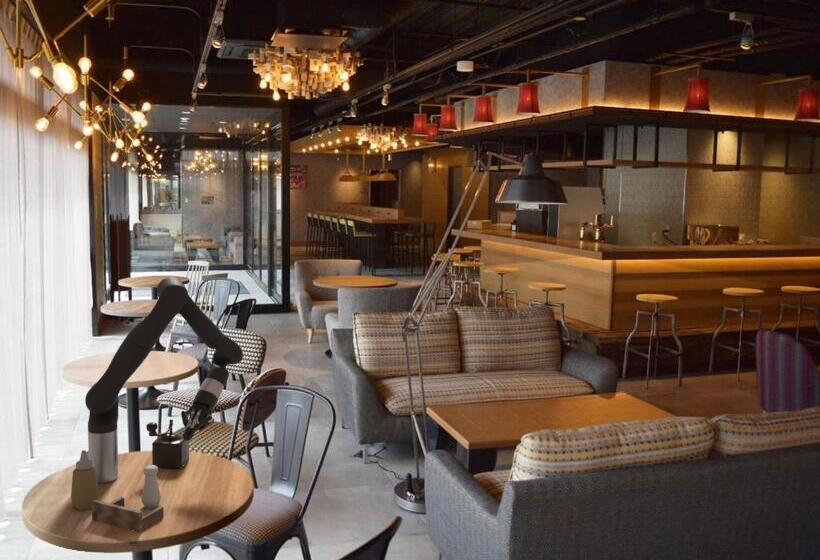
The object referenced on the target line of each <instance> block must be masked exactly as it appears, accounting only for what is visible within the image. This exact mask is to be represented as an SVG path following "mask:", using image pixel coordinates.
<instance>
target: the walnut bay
mask: <svg viewBox="0 0 820 560" xmlns="http://www.w3.org/2000/svg"><path fill="white" fill-rule="evenodd" d="M163 517H164V506H162V505H161V506H157V507H156V508H154V509H152V511H150V512H148V513H146V514H144V515H143V511H141V510H140V509H139V510H138V509H133V508H131V507H126V506H125V497H124V496H120V497H118V498H116V499H115V500H113V501H111V502H105V501H102V500H98V499H97V500H93V501H92V508H91V521H93V522H94V521H95V522H97V523H100V524H101V523H102V524H107V525H109V526H114V527H116V526H117V527H118V528H121V529H124V530H128V529H129V530H128V531H132V530H134V531H133V532H135V531H137V532H136V533H139V532H140V533H141V532H143V529H145V528H146V526H147V527H149V526H150V525H151V524H154V523H155V522H157V521H158V520H160V519H162V518H163Z"/></svg>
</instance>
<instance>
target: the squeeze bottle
mask: <svg viewBox="0 0 820 560" xmlns="http://www.w3.org/2000/svg"><path fill="white" fill-rule="evenodd" d="M86 452H87V451H86V450H85V449H83V450H81V453H80V457H79V460H78V461H76V462H75V468H74V469H73V470H72V479H71V480H72V481H71V489H70V490H71V491H70V492H71V493H70V499H71V501H72V504H73V506H74V508H75V509H76V510H80V511H84V510H89V509H92V501H93V500H98V499H99V494H100V493H99V485H98V484H99V483H97V477H96V470H95V468H94V467H92V461H91V460H88V457H87V453H86Z"/></svg>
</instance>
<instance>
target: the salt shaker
mask: <svg viewBox="0 0 820 560" xmlns="http://www.w3.org/2000/svg"><path fill="white" fill-rule="evenodd" d="M143 468H144V469H143V475H144V476H145V477H144V484H143V489H142V495H141V504H142V505H143V506H144V509H149V510H154V509H157V508H158V507H159V504H160V502H161V499H162V496H161V490H160V485H159V481H158V477H157V474H159V473H158V472H159V469H158V467H157V466H155V465H153V464H149V465H146V466H144V467H143Z"/></svg>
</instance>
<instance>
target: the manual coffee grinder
mask: <svg viewBox="0 0 820 560" xmlns="http://www.w3.org/2000/svg"><path fill="white" fill-rule="evenodd" d="M168 421H169V423H168V428H167V429H166V430H165V431H164V432H161V433H158V432H157V430H158V428H159V426H158V423H157V422H149V423H147V424H146V431H147V432H148V436H149V437H156V439H155V440H154V441H153V442H152V444H151V445H152V448H151V450H152V455H151V457H152V460H151V461H152V465H155V466H157V467H158V470H181V469H182V468H183V467H184V466H185V465H186V464H187V462H188V461H189V460H190V453H189V452H190V441H186V440H184V439H183V434H179V433H176V432H173V426H174V420H173V419H169V420H168ZM185 463H186V464H185ZM184 464H185V465H184ZM183 465H184V466H183Z"/></svg>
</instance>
